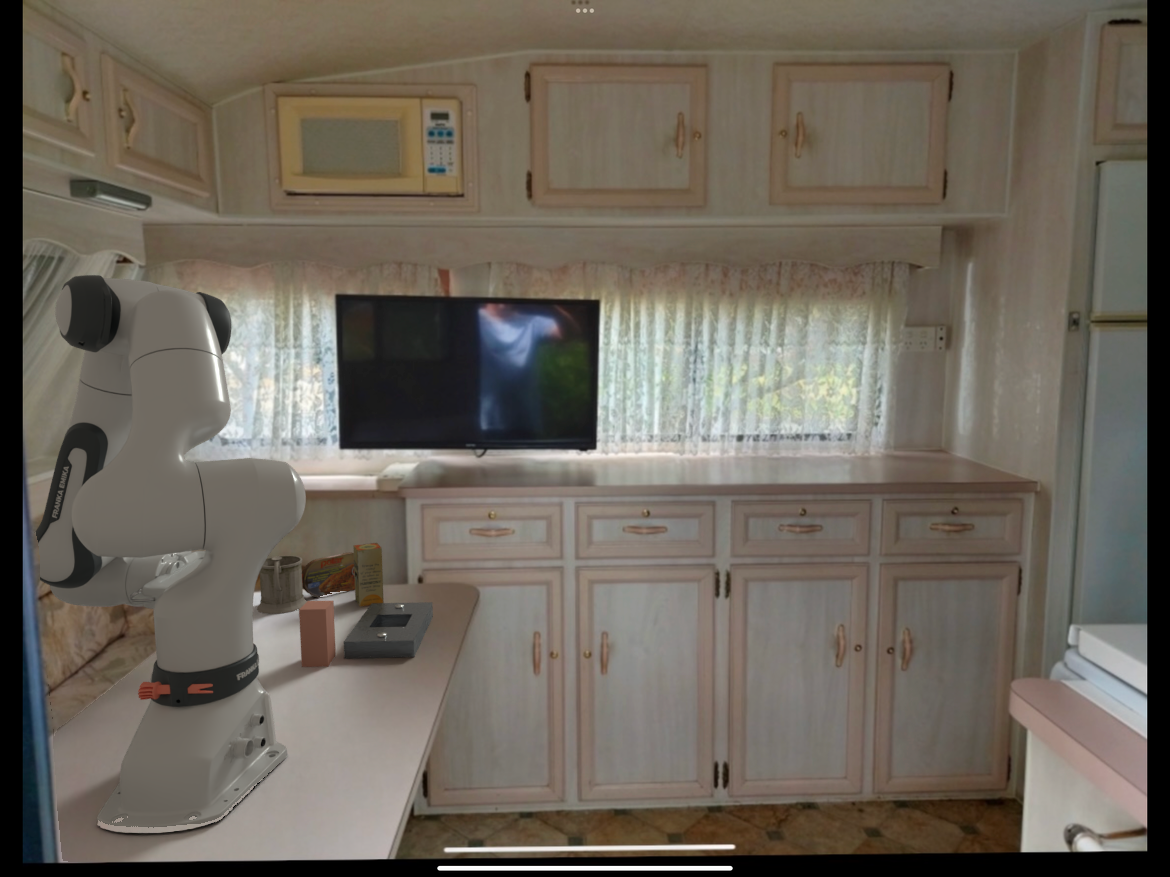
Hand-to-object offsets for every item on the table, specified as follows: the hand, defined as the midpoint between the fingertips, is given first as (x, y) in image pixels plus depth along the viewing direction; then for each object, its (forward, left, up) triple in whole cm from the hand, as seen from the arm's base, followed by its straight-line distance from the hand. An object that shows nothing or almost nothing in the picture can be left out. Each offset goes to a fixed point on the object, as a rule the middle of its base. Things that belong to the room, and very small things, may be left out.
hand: (242, 579), depth 126 cm
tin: (+38, -4, -15) cm, 41 cm away
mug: (+27, +4, -15) cm, 31 cm away
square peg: (0, -12, -15) cm, 19 cm away
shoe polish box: (+31, -13, -15) cm, 37 cm away
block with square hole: (+11, -22, -15) cm, 29 cm away
